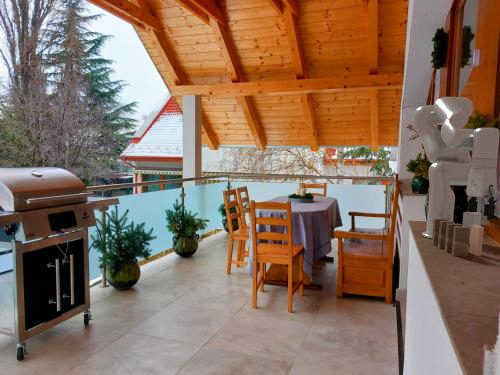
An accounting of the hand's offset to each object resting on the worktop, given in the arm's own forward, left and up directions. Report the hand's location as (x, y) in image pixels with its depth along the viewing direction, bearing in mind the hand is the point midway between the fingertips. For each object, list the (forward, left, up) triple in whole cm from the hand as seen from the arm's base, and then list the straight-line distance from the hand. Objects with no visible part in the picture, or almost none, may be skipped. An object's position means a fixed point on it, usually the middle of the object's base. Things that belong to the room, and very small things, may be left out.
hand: (480, 214), depth 130 cm
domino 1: (-11, -9, -14) cm, 20 cm away
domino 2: (-6, -8, -14) cm, 18 cm away
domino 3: (-1, -7, -14) cm, 16 cm away
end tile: (-1, 0, -14) cm, 14 cm away
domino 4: (+4, -7, -14) cm, 16 cm away
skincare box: (-20, +5, -15) cm, 25 cm away
